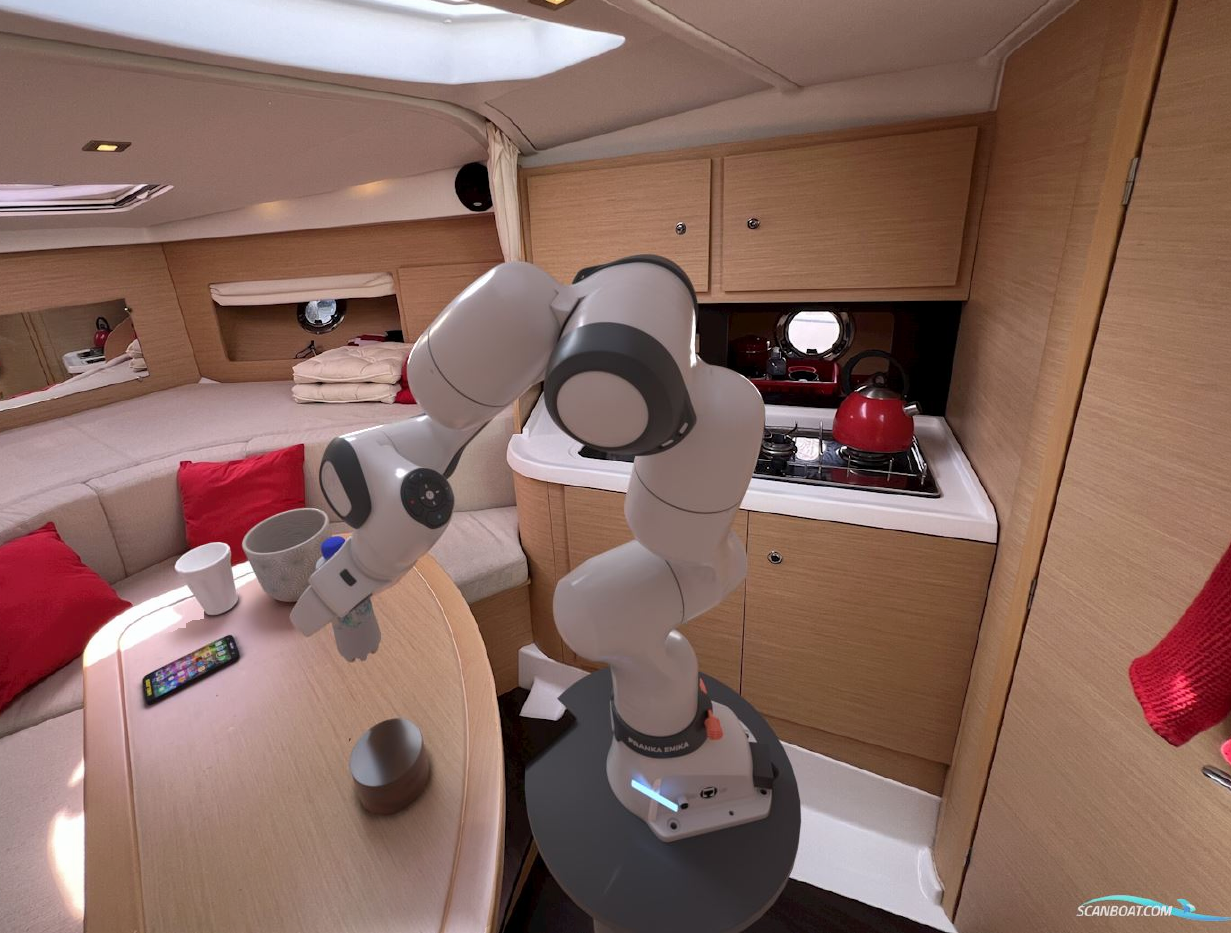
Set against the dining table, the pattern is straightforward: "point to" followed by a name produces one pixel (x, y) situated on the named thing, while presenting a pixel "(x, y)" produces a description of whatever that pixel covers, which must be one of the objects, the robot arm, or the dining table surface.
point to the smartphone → (189, 669)
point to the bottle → (352, 618)
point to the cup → (209, 576)
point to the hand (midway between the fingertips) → (344, 593)
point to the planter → (287, 551)
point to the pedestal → (389, 766)
